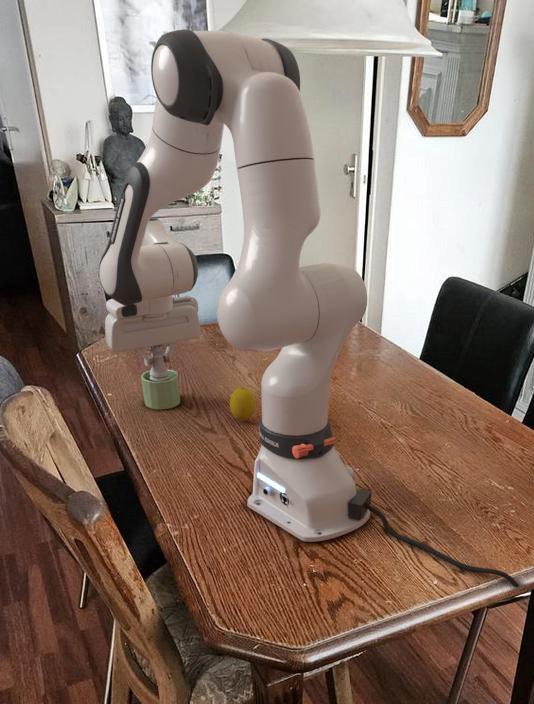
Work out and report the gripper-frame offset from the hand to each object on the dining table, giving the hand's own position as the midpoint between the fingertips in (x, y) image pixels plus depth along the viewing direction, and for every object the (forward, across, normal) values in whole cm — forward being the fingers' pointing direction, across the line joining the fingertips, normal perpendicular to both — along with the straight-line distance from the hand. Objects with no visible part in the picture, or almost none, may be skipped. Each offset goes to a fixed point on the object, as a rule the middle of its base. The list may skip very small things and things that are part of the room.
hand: (158, 363), depth 139 cm
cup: (+9, 0, 0) cm, 9 cm away
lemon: (+9, -11, +18) cm, 23 cm away
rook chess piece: (+4, 0, 0) cm, 4 cm away
